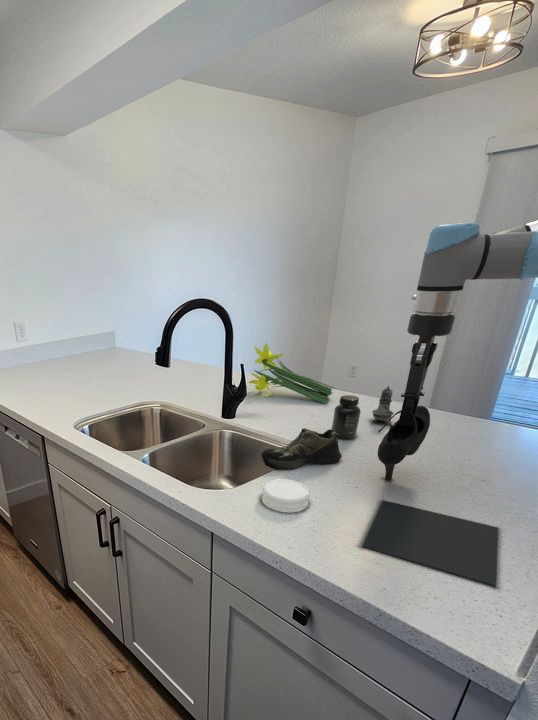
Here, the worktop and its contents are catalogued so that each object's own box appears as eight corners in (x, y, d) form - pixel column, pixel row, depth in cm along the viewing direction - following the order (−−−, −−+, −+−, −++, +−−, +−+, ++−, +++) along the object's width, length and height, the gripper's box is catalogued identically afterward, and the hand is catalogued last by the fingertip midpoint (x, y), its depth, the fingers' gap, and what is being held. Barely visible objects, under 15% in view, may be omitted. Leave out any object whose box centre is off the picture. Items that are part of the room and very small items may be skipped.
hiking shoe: (254, 459, 119) (256, 428, 114) (327, 450, 121) (332, 419, 117) (267, 473, 111) (270, 439, 107) (345, 463, 114) (351, 430, 109)
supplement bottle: (358, 435, 130) (366, 396, 124) (351, 442, 125) (358, 402, 120) (334, 430, 134) (341, 392, 129) (327, 437, 129) (333, 398, 124)
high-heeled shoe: (434, 423, 104) (444, 379, 88) (401, 493, 102) (405, 461, 86) (398, 414, 108) (401, 371, 92) (366, 481, 107) (363, 449, 90)
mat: (497, 529, 85) (497, 527, 84) (494, 588, 71) (495, 585, 71) (382, 502, 96) (383, 500, 96) (361, 548, 82) (362, 545, 82)
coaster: (297, 518, 92) (299, 504, 90) (253, 504, 98) (255, 491, 96) (314, 499, 99) (316, 485, 97) (273, 487, 105) (274, 474, 103)
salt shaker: (365, 421, 139) (373, 384, 134) (380, 418, 141) (388, 382, 135) (380, 427, 134) (388, 389, 129) (395, 424, 136) (404, 386, 130)
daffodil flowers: (316, 412, 151) (230, 375, 167) (319, 421, 165) (239, 386, 180) (342, 369, 149) (252, 335, 165) (343, 381, 162) (260, 349, 178)
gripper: (416, 308, 93) (391, 413, 103) (406, 316, 84) (380, 431, 94) (458, 309, 88) (428, 419, 99) (452, 318, 79) (420, 437, 90)
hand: (405, 425), depth 97 cm, fingers closed
